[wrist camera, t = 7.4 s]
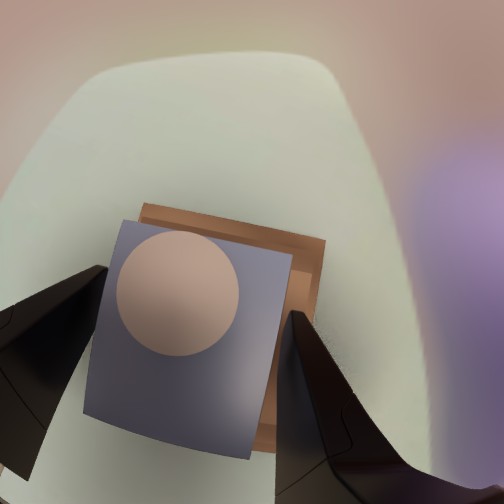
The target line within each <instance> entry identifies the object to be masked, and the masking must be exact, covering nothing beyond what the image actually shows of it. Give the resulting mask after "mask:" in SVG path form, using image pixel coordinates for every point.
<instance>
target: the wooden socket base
mask: <svg viewBox="0 0 504 504" xmlns="http://www.w3.org/2000/svg"><path fill="white" fill-rule="evenodd" d="M138 222H139V223H144V224H149V225H154V226H159V227H163V228H168V229H173V230H178V231H186V232H191V233H195V234H198V235H202V236H206V237H211V238H216V239H221V240H225V241H230V242H235V243H239V244H244V245H249V246H253V247H258V248H263V249H268V250H272V251H277V252H282V253H286V254H291V255H293V256H292V261H291V267H290V273H289V278H288V284H287V289H286V294H285V300H284V305H283V310H282V315H281V320H280V325H279V330H278V335H277V340H276V345H275V350H274V355H273V359H272V364H271V369H270V373H269V378H268V383H267V387H266V392H265V396H264V400H263V405H262V409H261V413H260V418H259V422H258V426H257V430H256V435H255V439H254V443H253V447H252V450H253V451H261V452H269V453H276V418H277V370H278V362H279V355H280V347H281V339H282V332H283V328H284V325H285V322H286V320H287V317H288V314H289V312H290V310H292V309H293V310H298V311H303V312H304V313H305V314H306V316H307V318H308V319H309V321H310V322H311V324H312V322H313V317H314V311H315V306H316V300H317V294H318V288H319V282H320V276H321V269H322V263H323V256H324V249H325V242H326V240H322V239H317V238H313V237H308V236H304V235H299V234H295V233H290V232H286V231H281V230H277V229H272V228H267V227H263V226H258V225H253V224H249V223H244V222H239V221H234V220H230V219H225V218H220V217H215V216H210V215H205V214H200V213H195V212H190V211H185V210H180V209H175V208H169V207H164V206H159V205H154V204H148V203H144V204H143V207H142V210H141V213H140V216H139V219H138Z"/></svg>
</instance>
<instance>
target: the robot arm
mask: <svg viewBox="0 0 504 504" xmlns="http://www.w3.org/2000/svg"><path fill="white" fill-rule="evenodd" d="M108 270H109V269H108V268H107V267H105V266H102V265H95V266H93V267H91V268H88V269H86V270H84V271H82V272H80V273H78V274H76V275H73V276H71V277H69V278H67V279H65V280H63V281H61V282H59V283H57V284H54V285H52V286H50V287H48V288H46V289H44V290H42V291H40V292H38V293H36V294H34V295H32V296H30V297H28V298H26V299H24V300H22V301H20V302H18V303H16V304H15V305H12V306H10V307H8V308H6V309H4V310H2V311H0V476H1V473H2V471H3V469H4V466H5V467H6V468H8V469H9V470H11V471H12V472H14V473H15V474H17V475H18V476H20V477H21V478H23V479H24V480H26V481H28V480H29V478H30V475H31V473H32V470H33V467H34V464H35V461H36V459H37V456H38V453H39V450H40V448H41V445H42V443H43V440H44V438H45V435H46V433H47V430H48V427H49V425H50V423H51V420H52V418H53V415H54V413H55V411H56V409H57V406H58V404H59V402H60V400H61V397H62V395H63V393H64V391H65V389H66V387H67V384H68V382H69V380H70V378H71V376H72V374H73V372H74V370H75V368H76V366H77V364H78V362H79V360H80V358H81V356H82V354H83V352H84V350H85V348H86V346H87V344H88V342H89V340H90V338H91V336H92V335H93V333H94V331H95V327H96V322H97V317H98V313H99V308H100V303H101V299H102V295H103V290H104V286H105V282H106V278H107V274H108ZM0 504H9V503H8V502H6V501H5V500H4V499H2V498H1V497H0ZM275 504H504V488H503V487H501V486H499V485H492V486H489V487H487V488H484V489H469V488H465V487H462V486H459V485H456V484H453V483H450V482H447V481H445V480H442V479H439V478H437V477H434V476H432V475H429V474H426V473H424V472H421V471H419V470H417V469H415V468H413V467H411V466H410V465H409V464H407V463H406V462H405V461H404V460H403V459H402V458H401V457H400V455H399V454H398V453H397V452H396V450H395V449H394V448H393V447H392V445H391V444H390V443H389V441H388V440H387V439H386V438H385V436H384V435H383V434H382V432H381V431H380V430H379V429H378V427H377V426H376V425H375V423H374V422H373V421H372V419H371V418H370V416H369V415H368V414H367V412H366V411H365V409H364V408H363V406H362V404H361V403H360V401H359V400H358V398H357V396H356V395H355V393H353V390H352V389H351V387H350V385H349V384H348V382H347V380H346V379H345V377H344V376H343V374H342V372H341V371H340V369H339V367H338V366H337V364H336V363H335V361H334V359H333V358H332V356H331V355H330V353H329V351H328V350H327V348H326V346H325V345H324V343H323V342H322V340H321V338H320V337H319V335H318V334H317V332H316V330H315V329H314V327H313V326H312V324H311V322H310V321H309V319H308V318H307V316H306V314H305V313H304V312H303V311H298V310H293V309H292V310H290V312H289V314H288V317H287V320H286V322H285V325H284V328H283V332H282V339H281V347H280V355H279V362H278V370H277V418H276V478H275Z"/></svg>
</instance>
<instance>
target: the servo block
mask: <svg viewBox="0 0 504 504" xmlns="http://www.w3.org/2000/svg"><path fill="white" fill-rule="evenodd" d="M292 256H293V255H291V254H286V253H282V252H277V251H272V250H268V249H263V248H258V247H253V246H249V245H244V244H239V243H235V242H230V241H225V240H221V239H216V238H211V237H206V236H202V235H198V234H195V233H191V232H186V231H178V230H173V229H168V228H163V227H159V226H154V225H149V224H144V223H139V222H135V221H130V220H125V219H123V222H122V225H121V228H120V231H119V235H118V238H117V241H116V245H115V248H114V252H113V255H112V259H111V263H110V266H109V270H108V274H107V278H106V282H105V286H104V290H103V295H102V299H101V303H100V308H99V313H98V317H97V322H96V327H95V333H94V338H93V344H92V349H91V355H90V362H89V368H88V376H87V383H86V391H85V400H84V410H83V414H86V415H88V416H90V417H93V418H95V419H98V420H100V421H103V422H105V423H108V424H111V425H113V426H116V427H119V428H122V429H125V430H127V431H130V432H133V433H136V434H139V435H143V436H146V437H149V438H152V439H156V440H159V441H163V442H166V443H170V444H174V445H177V446H181V447H185V448H190V449H194V450H198V451H203V452H208V453H213V454H218V455H223V456H229V457H234V458H241V459H247V460H249V459H250V455H251V451H252V447H253V443H254V439H255V435H256V430H257V426H258V422H259V418H260V413H261V409H262V405H263V400H264V396H265V392H266V387H267V383H268V378H269V373H270V369H271V364H272V359H273V355H274V350H275V345H276V340H277V335H278V330H279V325H280V320H281V315H282V310H283V305H284V300H285V294H286V289H287V284H288V278H289V273H290V267H291V261H292Z"/></svg>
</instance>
